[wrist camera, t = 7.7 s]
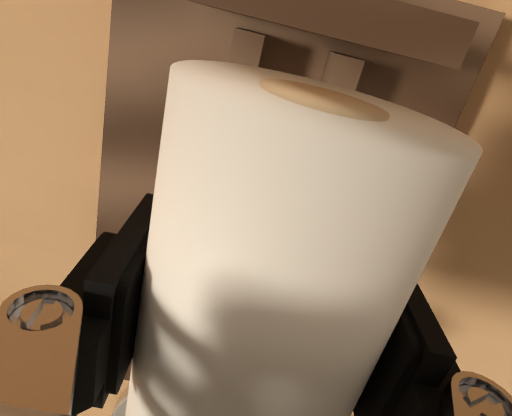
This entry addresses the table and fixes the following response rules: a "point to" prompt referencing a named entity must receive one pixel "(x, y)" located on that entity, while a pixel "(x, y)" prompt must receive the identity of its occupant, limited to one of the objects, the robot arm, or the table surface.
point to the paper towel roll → (283, 240)
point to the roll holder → (278, 65)
